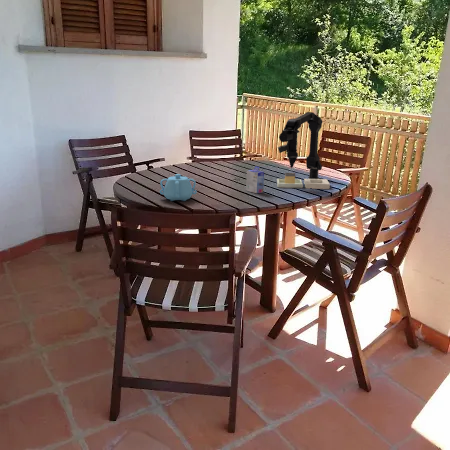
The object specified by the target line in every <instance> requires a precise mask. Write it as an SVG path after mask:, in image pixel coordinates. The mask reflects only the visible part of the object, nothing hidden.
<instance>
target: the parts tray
mask: <svg viewBox="0 0 450 450" xmlns="http://www.w3.org/2000/svg"><path fill="white" fill-rule="evenodd" d="M303 184H304V182H303V181H302V179H299V178H297V179H296V178H295V184H289V183H285V178H277V179H276V185H277V188H279V189H280V188H281V189H282V188H283V189H285V188H286V189H303V188H304V185H303Z"/></svg>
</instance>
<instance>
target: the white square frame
mask: <svg viewBox="0 0 450 450" xmlns="http://www.w3.org/2000/svg"><path fill="white" fill-rule="evenodd" d="M303 184H305V185H304V187H305V189H310V188H312V189H313V190H314V189H316V190H319V189H320V190H330V188H331V184H330V182H329V181H328V179H326V178H325V179H324V178H323V179H322V178H319V179H309V178H304V179H303Z"/></svg>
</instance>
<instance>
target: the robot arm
mask: <svg viewBox="0 0 450 450" xmlns="http://www.w3.org/2000/svg"><path fill="white" fill-rule="evenodd" d="M305 123H307V124H308V129H309V131H310V138H309V139H310V140H309V141H310V142H309V143H310V145H309V154H308V156H306V161H305V163H306V169H307V170H309V175H308V177H307V179H320V178H319V171H322V170H323V165H322V163H321V161H320V159H321V158H320V156H319V154H318V153H319V152H318V151H319V149H318V148H319V132H320V131H321V129H322V126H323V119H322V118H321V117H320V116H318V115H317V114H315V113H314V112H313V111H307V112H305V113H303V114H301V115H300V116H298V117H295V118H289V119H288V120H287V121H286V123H285V125H284V128H283V130H282V132H280V134H279V136H278V138H279V141H280V142H281V143H286V144H282V145H280V146H278V147H277V149H278V153H279V154H282V153H283V152H285V153H286V157H287V159H288V161H289V165H290V168H291V169H292V168H294V165H295V163H296V162H297V159H298V157H299V153H298V134H299V133H300V131H299V129H300V128H302V127H301V126H302V125H303V124H305Z"/></svg>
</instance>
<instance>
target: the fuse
mask: <svg viewBox="0 0 450 450" xmlns="http://www.w3.org/2000/svg"><path fill="white" fill-rule="evenodd" d="M284 179H285V183H289V184H295V179H296V173H295V172H284Z"/></svg>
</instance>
